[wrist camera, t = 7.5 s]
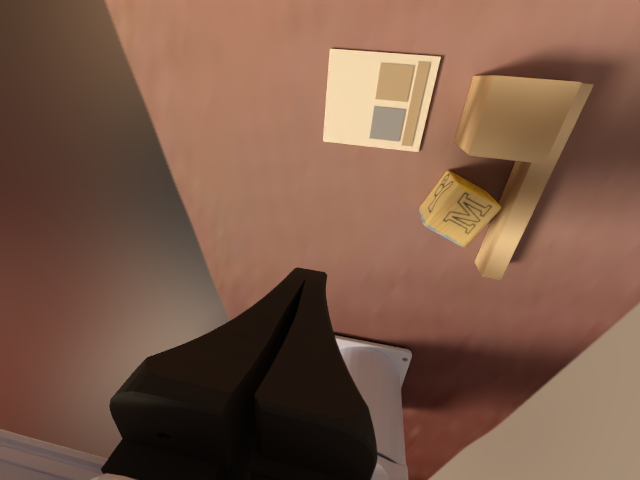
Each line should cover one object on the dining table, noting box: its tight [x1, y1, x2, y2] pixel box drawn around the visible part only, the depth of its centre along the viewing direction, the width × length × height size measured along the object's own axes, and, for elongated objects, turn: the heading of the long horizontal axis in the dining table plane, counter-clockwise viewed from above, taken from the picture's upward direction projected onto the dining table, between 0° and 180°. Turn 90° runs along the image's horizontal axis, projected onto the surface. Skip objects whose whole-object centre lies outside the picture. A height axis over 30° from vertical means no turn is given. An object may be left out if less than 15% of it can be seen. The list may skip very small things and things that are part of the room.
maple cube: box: [454, 75, 582, 164], centre depth 15 cm, size 4×4×4 cm
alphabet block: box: [419, 170, 501, 248], centre depth 18 cm, size 3×3×3 cm
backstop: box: [475, 83, 594, 280], centre depth 17 cm, size 12×1×2 cm, turn 176°
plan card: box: [323, 49, 441, 152], centre depth 17 cm, size 5×6×1 cm
